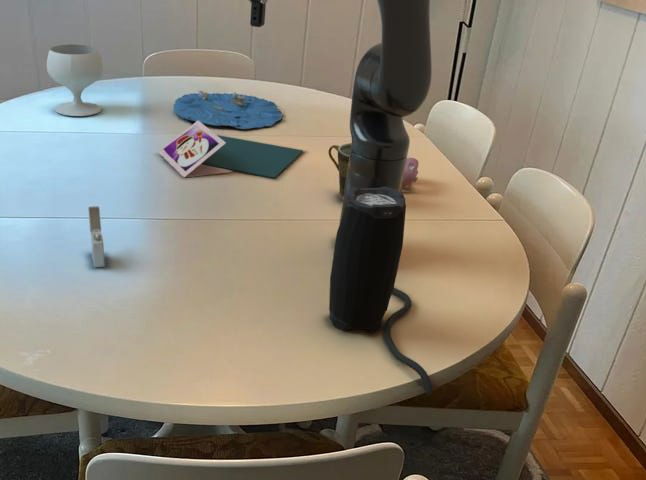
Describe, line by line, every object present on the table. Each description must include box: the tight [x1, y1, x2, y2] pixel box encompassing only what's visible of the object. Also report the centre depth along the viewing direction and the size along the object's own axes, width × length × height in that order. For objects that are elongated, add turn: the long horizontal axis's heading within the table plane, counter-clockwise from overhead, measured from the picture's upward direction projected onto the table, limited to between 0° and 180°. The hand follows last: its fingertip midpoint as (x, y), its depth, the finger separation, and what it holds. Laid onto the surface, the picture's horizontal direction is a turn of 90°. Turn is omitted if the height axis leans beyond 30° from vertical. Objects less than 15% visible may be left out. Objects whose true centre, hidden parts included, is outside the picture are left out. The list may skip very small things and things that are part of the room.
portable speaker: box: [328, 187, 407, 333], centre depth 100 cm, size 9×9×20 cm
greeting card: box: [158, 121, 234, 178], centre depth 158 cm, size 11×7×15 cm
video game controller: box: [401, 155, 419, 190], centre depth 151 cm, size 10×5×7 cm, turn 168°
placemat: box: [201, 134, 304, 180], centre depth 163 cm, size 20×24×1 cm
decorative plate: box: [173, 90, 283, 130], centre depth 189 cm, size 30×30×5 cm
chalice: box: [46, 44, 104, 117], centre depth 182 cm, size 14×14×15 cm
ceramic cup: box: [328, 142, 352, 202], centre depth 143 cm, size 13×10×10 cm
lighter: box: [87, 206, 106, 268], centre depth 116 cm, size 7×2×8 cm, turn 13°
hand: (257, 26), depth 128 cm, fingers closed
